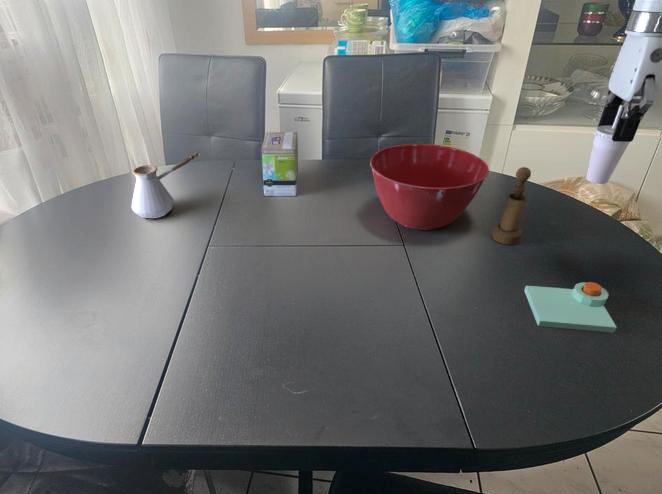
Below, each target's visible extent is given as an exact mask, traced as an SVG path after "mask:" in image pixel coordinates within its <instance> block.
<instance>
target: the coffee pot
mask: <svg viewBox="0 0 662 494" xmlns="http://www.w3.org/2000/svg"><path fill="white" fill-rule="evenodd" d="M198 156H199V158H200V159H203V157H202V156H201V154H200V152H196V153H194V154H191V155H189V157H187V158H185V159H182V160H181V161H180V162H178V163H177V164H175V165H174V166H173V167H171V168H170V169H168V170H166V171H165V172H163V173H161V174H159V175H158V176H157V172H158V167H157V166H155V165H153V164H152V165H150V164H148V165H147V164H146V165H140V166H137V167H135V168H133V169H132V174H133V175H134V176H135V185H134V191H133V196H132V201H131V210H132V211H133V213H134V214H136V215H137V216H139V217H141V218H143V217H146V218H153V217H159V216H162V215H164V214H166V213H168V212H171V210H172V209H173V208H174V204H175V201H174V198H173V196H172V195H171V193H170V192H169V191H168V190H167V188H166V187H165V185H164V184H163V182H162V181H161V179H163V178H164V177H166V176H168V175H169V174H171V173H173V172H174V171H176V170H178V169H180V168H181V167H184V166H185V165H187V164H188V163H190V161H191V160H192V161H193V160H194V159H195V158H197V157H198ZM168 214H169V213H168Z"/></svg>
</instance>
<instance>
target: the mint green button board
mask: <svg viewBox="0 0 662 494" xmlns="http://www.w3.org/2000/svg"><path fill="white" fill-rule="evenodd" d="M586 283H587V282H584V281H583V282H579V283H576V284H575V285H574V287H573V288H564V287H563V288H562V287H552V286H551V287H549V286H537V285H525V287H524V290H523V291H524V294H525V296H526V299H527V301H528V304H529V306H530V309H531V312H532V314H533V318H534V319H535V322H536V324H537V326H538V327H546V328H554V329H555V328H557V329H568V330H579V331H588V332H589V331H590V332H601V333H611V334H614V333H615V332H616V330H617V328H618V326H617V325H616V324H615V322H614V320H613V319H612V317H611V314H609V312H608V310H607V308H606V307H605V305H606V302H607V300H608V299H609V296H610V294H609V292H608V291H607V289H606V288H604V287H602V289H601V292H600V294H599V296H590V295H587V294H585V293H584V292H583V288H584V286H585V284H586Z"/></svg>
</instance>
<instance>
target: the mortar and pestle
mask: <svg viewBox="0 0 662 494" xmlns="http://www.w3.org/2000/svg"><path fill="white" fill-rule="evenodd" d="M531 176H532V171H531V169H530V168H528V167H526V166H522V167H520V168H518V169H517V170H516V172H515V177H516V178H515V179H516V181H517V183H516V185H514V187H513V192H511V193H509V194H508V195H507V198H506V203H505V206H504V211H503V214H502V217H501V220H500V223H497V224H495V225H494V226H493V228H492V233H491V238H492V239H493V240H494V241H495V242H497V243H499V244H502V245H507V246H514V245H518V244H519V243H520V242H521V239H522V235H523V230H522V229H521V228H520V227H519V225H520V223H521V219H522V216H523V212H524V209H525V205H526V202H527V199H528V197H527V196H526V195H524V192H525V190H526V186H525V183H527V181H529V179H530V178H531Z"/></svg>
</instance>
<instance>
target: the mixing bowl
mask: <svg viewBox="0 0 662 494" xmlns="http://www.w3.org/2000/svg"><path fill="white" fill-rule="evenodd" d="M369 165H370V168H371V171H372V176H373V181H374V185H375V190H376V192H377V195H378V197H379V201H380V203H381V205H382V208H383V209H384V211H385V213H386V214H387V215H388V216H389V217H390V218H391V219H392V220H393V221H395V222H397V223H398V224H400V225H401V226H403V227H404V228H405V227H406V228H408V229H412V230H417V231H432V230H436V229H439V228H443V227H446V226H448V225H450V224H451V223H453V222H455V221H456V220H457V219H458V218H459V217H460V216H461V215H462V214H463V212H465V210H467V208H468V207H469V205H470V204H471V203H472V201H473V199H475V196H476V195H477V193H478V192H479V190H480V188H481V186H482V185H483V182H484V181H485V179H486V178H487V177H488V175H489V173H490V169H489V165H488V164H487V163H486V162H485V160H483V159H482V158H480V157H479V156H477V155H475V154H474V153H471V152H468V151H466V150H463V149H461V148H457V147H452V146H446V145H440V144H432V143H406V144H398V145H391V146H389V147H385V148H382V149H380V150H378V151H376V152H375V153H374V154H373V155H372V156H371V158H370V161H369Z"/></svg>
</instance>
